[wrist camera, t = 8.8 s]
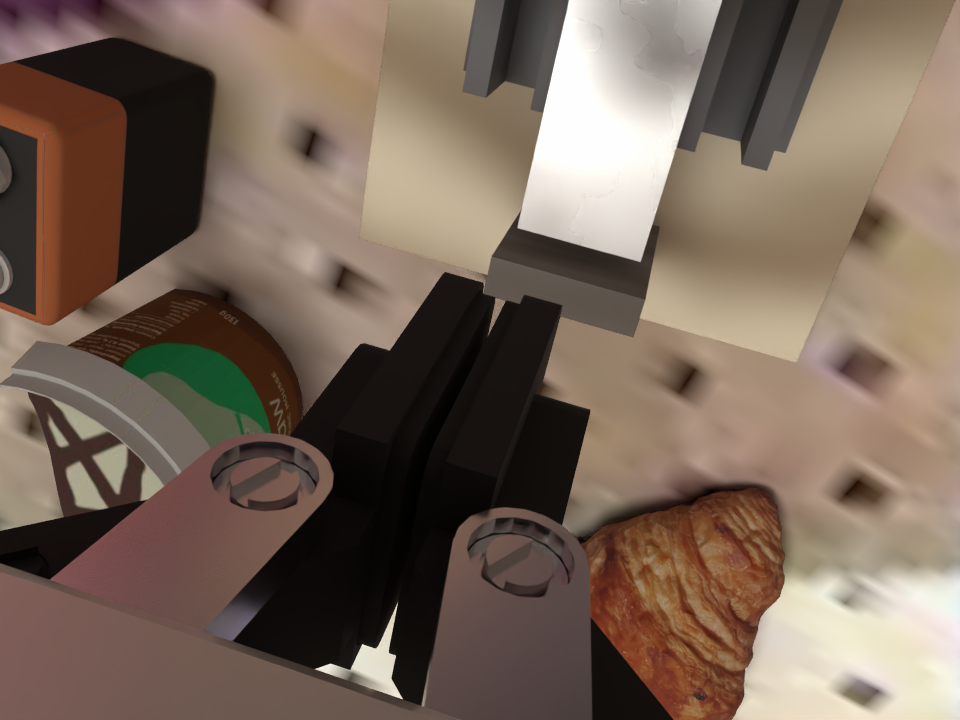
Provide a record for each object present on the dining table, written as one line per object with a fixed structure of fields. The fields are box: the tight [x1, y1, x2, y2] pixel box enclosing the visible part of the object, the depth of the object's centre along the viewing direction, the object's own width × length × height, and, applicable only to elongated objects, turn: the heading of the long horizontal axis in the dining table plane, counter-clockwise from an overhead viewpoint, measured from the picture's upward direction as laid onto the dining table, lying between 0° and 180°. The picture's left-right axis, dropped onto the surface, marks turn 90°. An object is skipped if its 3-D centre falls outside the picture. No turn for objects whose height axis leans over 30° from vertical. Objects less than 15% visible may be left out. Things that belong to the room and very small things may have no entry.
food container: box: [0, 289, 303, 517], centre depth 34 cm, size 12×6×10 cm, turn 3°
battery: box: [0, 38, 212, 325], centre depth 30 cm, size 4×7×10 cm, turn 164°
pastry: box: [577, 487, 785, 720], centre depth 37 cm, size 17×15×8 cm
